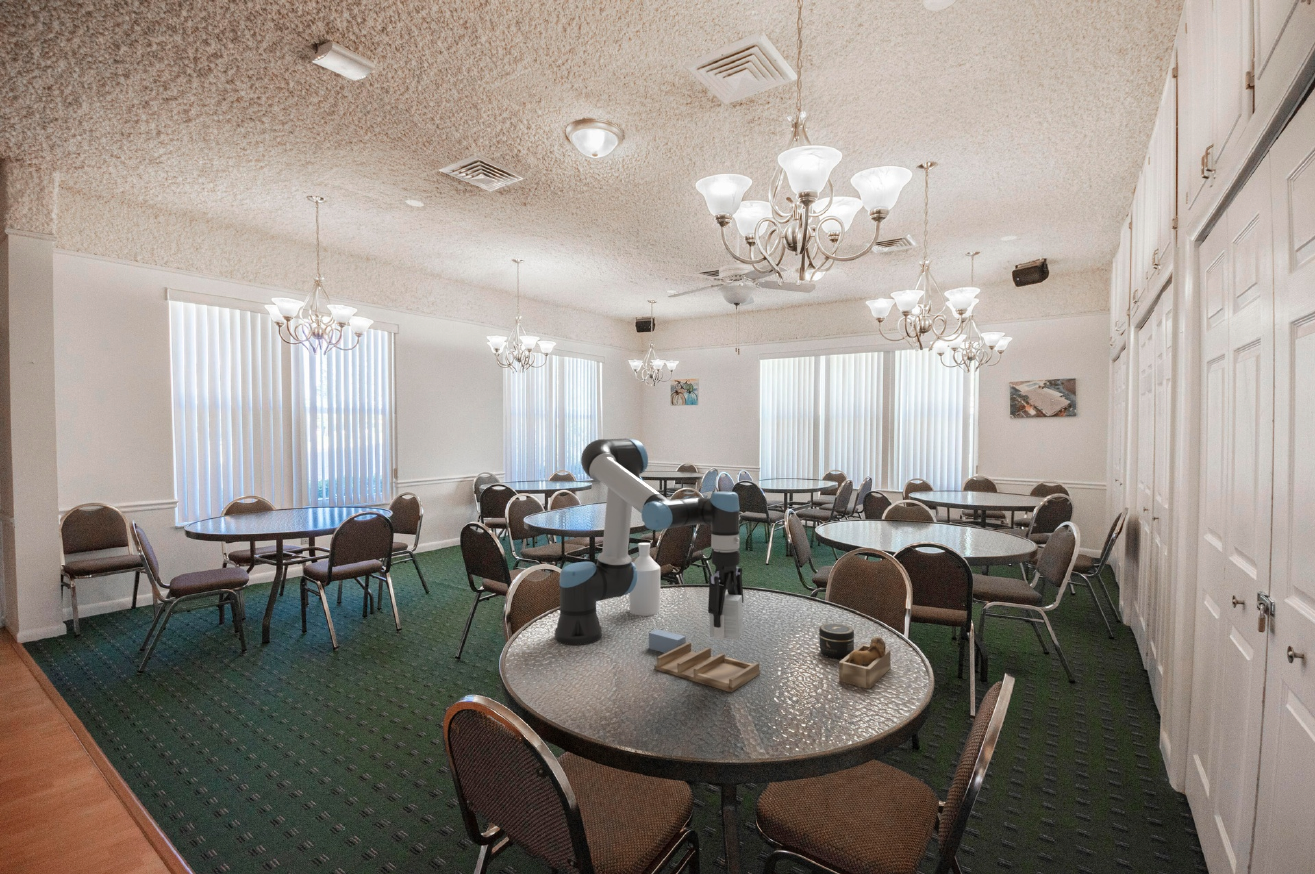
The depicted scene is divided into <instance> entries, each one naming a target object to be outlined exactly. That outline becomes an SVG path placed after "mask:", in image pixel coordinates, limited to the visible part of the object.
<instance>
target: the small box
mask: <svg viewBox="0 0 1315 874" xmlns="http://www.w3.org/2000/svg"><path fill="white" fill-rule="evenodd" d="M742 604H743V603H742V595H730V594H728V593H725V598H724V604H723V610H722V614H723V615H724V640H725V639H727V640H736V641H739V640H740V638H741V637H742V635H743V633H744V625H743V624H744V623H743V622H744V621H743V617H744V616H743V606H742ZM708 614H709V637H710V638H714V616H713V614H710V613H708Z"/></svg>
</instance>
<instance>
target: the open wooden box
mask: <svg viewBox="0 0 1315 874" xmlns="http://www.w3.org/2000/svg"><path fill="white" fill-rule="evenodd" d="M869 648H870V645H869V644H863V643H861V644H859V645H858V646H857V647H856V648H854V650H853V651H866V650H868V649H869ZM853 651H852V652H853ZM849 656H850V654H849V655H847V656H846V657H845V658H844V659H840V661H839V662H838V672H839V673H838V681H839V682H842V683H845V684H848V685H854V686H857V687H860V688H864V689H869V690H870V689H872V688H873V686H874V685H876V683H877V682H878V681H879V680H881V678H882V677H883V676H884V675H886V673H887V672H888V671H889V670H890V669H891V668H892V667H891V662H892V661H891V649H888V648H886V651H885V655H884V656H883V657H884V658H883V657H878V658H877V659H875V660H874V661H873V662H872V663H871V664H870V665H869V666H868V665H867V666H864V664H862V666H860V665H855V663H854V664H851V663H848V659H849Z"/></svg>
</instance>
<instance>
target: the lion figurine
mask: <svg viewBox="0 0 1315 874" xmlns="http://www.w3.org/2000/svg"><path fill="white" fill-rule="evenodd" d="M869 646H870V648H869V649H868V650H866V651H853V652H851V653H850V656H849V659H848V663H851V664H854V663H855V665H860V666H863V665H865V666H867V667H868V666H869V665H870V664H871V663H872V662H873V661H874V660H875V659H877V658H878V657H883V656H884V655H885V651H886V649H887V648H886V641H885V640H884V639H883V638H882V637H879V636H875V637H873V638H871V639H870V645H869ZM883 658H884V657H883ZM862 664H863V665H862Z"/></svg>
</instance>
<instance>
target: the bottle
mask: <svg viewBox="0 0 1315 874" xmlns="http://www.w3.org/2000/svg"><path fill="white" fill-rule="evenodd" d="M637 547H638V556H637V557H636V559H635V560H634V561H632V562H633V563H634V565H635V567H636V569H635V570H636V571H637V582H636V585H635V587H634V589H633V590H632V591H631V592H630V593H629V594H628V596H629V613H630V614H632V615H636V616H643V617H644V616H654V615H657V614H659V613H660V612H661V566H660V565H659V564H658V563H657V562H656V561H655V560H654V559H653V558H652V556H651V555H650V554H651V553H650V552H651V551H650V548H651V543H650V542H639V543H637Z"/></svg>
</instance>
